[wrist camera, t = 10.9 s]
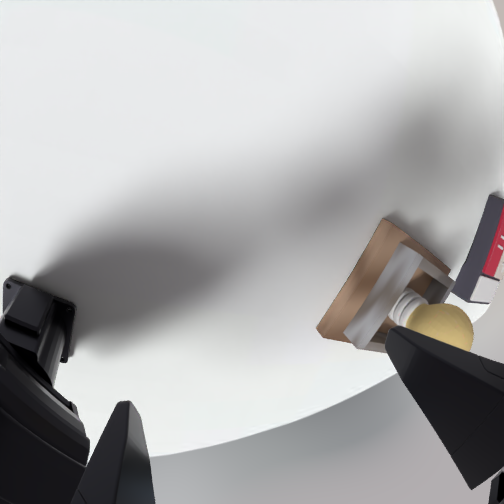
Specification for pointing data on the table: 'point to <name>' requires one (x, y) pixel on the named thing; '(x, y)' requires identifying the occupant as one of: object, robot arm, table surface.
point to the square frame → (383, 288)
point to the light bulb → (433, 319)
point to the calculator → (484, 257)
